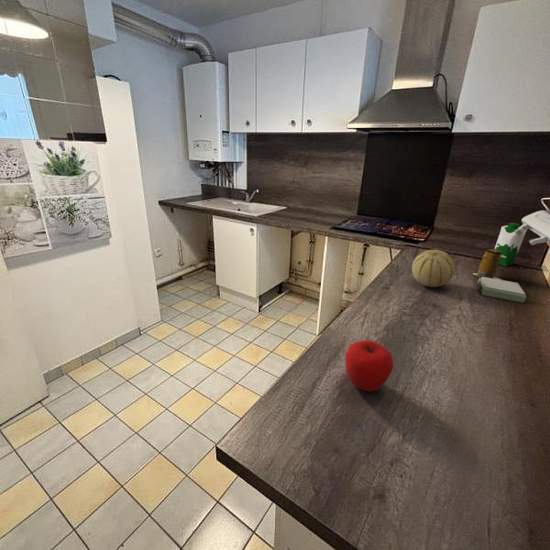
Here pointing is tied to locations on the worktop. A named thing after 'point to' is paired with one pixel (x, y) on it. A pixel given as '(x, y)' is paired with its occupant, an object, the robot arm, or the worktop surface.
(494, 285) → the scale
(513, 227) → the milk carton
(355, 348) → the apple
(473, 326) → the worktop surface
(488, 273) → the condiment
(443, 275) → the cantaloupe
